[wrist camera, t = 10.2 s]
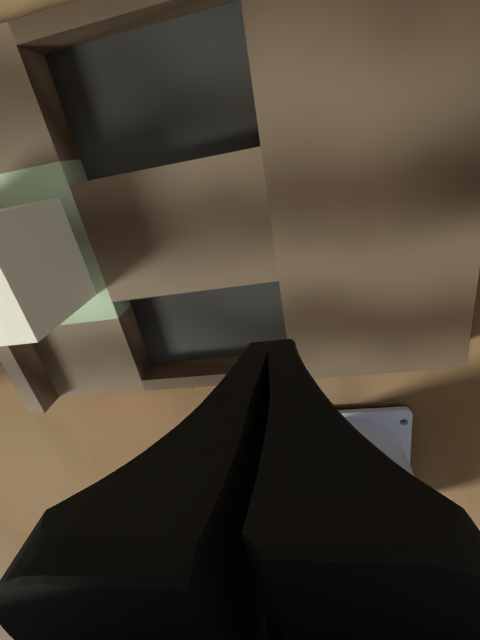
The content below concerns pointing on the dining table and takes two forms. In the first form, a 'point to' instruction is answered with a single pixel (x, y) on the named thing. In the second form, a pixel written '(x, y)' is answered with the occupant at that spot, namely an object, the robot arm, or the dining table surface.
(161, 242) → the trap deck
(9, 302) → the block
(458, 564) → the robot arm
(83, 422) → the dining table surface
